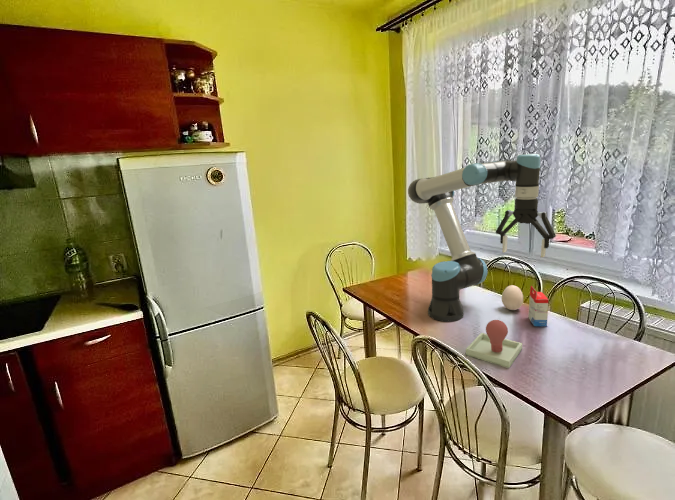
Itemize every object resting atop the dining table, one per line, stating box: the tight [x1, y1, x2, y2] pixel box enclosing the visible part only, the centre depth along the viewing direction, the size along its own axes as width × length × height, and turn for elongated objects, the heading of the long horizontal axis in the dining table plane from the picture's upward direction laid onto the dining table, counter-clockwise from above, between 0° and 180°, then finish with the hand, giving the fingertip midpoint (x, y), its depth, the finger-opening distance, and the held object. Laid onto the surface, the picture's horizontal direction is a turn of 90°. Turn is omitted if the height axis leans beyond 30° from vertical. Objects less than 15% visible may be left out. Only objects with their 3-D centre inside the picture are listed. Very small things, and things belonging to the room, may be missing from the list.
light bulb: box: [485, 319, 509, 352], centre depth 130 cm, size 7×7×12 cm
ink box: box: [527, 285, 550, 327], centre depth 150 cm, size 8×5×15 cm, turn 168°
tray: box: [465, 332, 523, 369], centre depth 132 cm, size 15×15×2 cm
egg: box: [501, 284, 524, 311], centre depth 163 cm, size 9×9×11 cm
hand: (523, 254), depth 139 cm, fingers open, 13 cm apart
